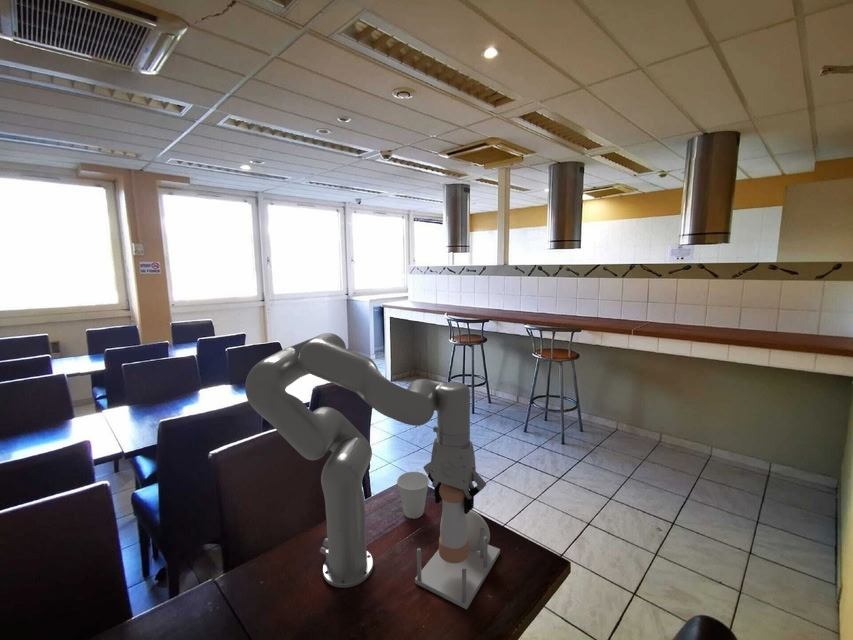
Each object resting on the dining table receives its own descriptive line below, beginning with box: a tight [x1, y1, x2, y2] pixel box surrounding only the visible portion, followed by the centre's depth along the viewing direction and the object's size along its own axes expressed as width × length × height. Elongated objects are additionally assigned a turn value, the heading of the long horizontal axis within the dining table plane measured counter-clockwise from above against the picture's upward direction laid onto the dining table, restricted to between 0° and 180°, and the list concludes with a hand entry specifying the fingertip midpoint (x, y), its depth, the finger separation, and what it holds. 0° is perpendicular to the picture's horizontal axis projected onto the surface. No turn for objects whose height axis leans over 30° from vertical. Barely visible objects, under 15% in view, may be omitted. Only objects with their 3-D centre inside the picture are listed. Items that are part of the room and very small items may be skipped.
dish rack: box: [414, 509, 501, 610], centre depth 100 cm, size 14×20×12 cm
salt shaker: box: [438, 483, 469, 564], centre depth 96 cm, size 7×7×19 cm
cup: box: [396, 471, 430, 520], centre depth 122 cm, size 10×10×11 cm
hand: (453, 504), depth 95 cm, fingers closed on salt shaker, 7 cm apart
